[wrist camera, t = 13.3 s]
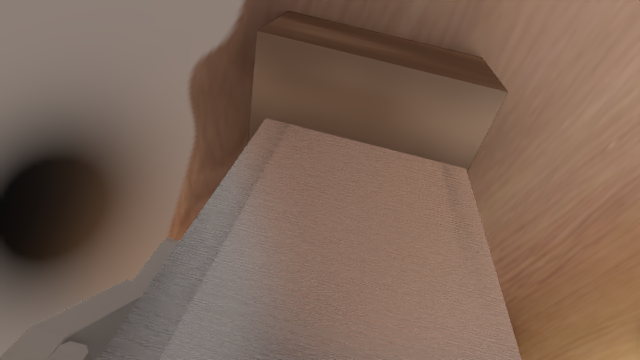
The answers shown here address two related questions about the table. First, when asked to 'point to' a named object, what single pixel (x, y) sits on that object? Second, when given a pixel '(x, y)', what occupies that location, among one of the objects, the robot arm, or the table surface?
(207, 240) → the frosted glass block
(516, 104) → the table surface
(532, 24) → the table surface
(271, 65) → the step block
